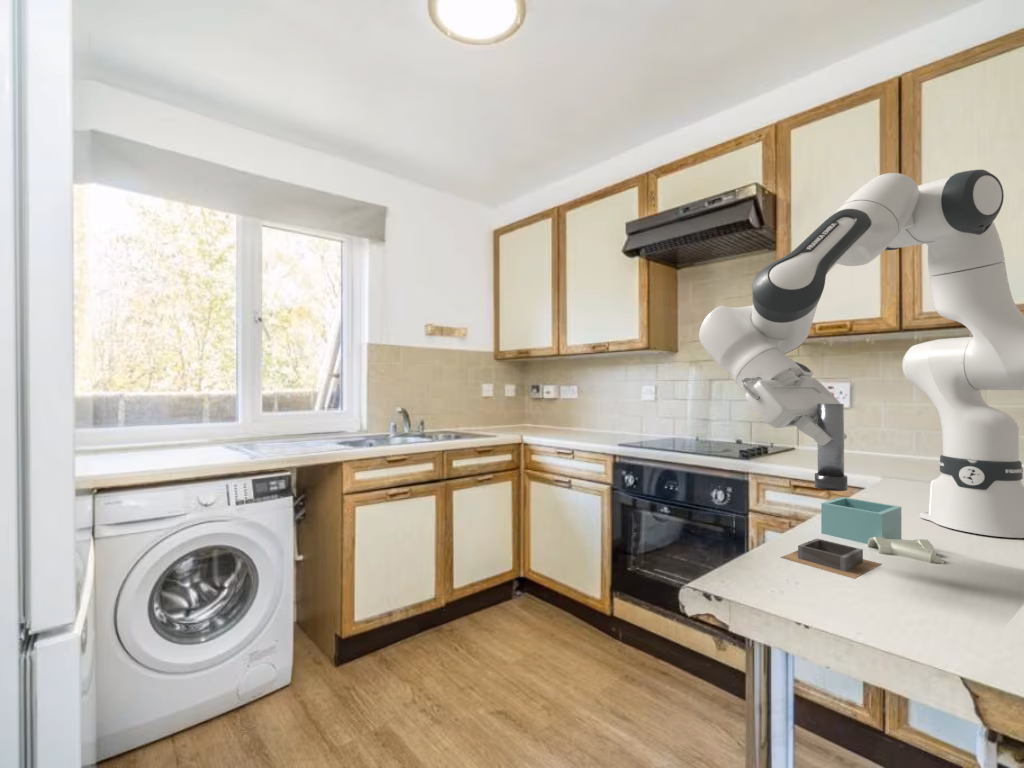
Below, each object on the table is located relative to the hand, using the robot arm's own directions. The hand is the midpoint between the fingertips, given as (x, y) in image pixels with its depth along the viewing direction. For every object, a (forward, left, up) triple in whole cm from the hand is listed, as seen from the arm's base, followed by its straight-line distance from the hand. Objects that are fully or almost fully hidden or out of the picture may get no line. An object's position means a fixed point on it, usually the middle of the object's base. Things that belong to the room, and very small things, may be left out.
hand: (835, 441), depth 73 cm
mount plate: (0, -1, -20) cm, 20 cm away
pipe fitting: (-13, +5, -20) cm, 25 cm away
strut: (0, -1, -7) cm, 7 cm away
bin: (-19, -3, -20) cm, 28 cm away
